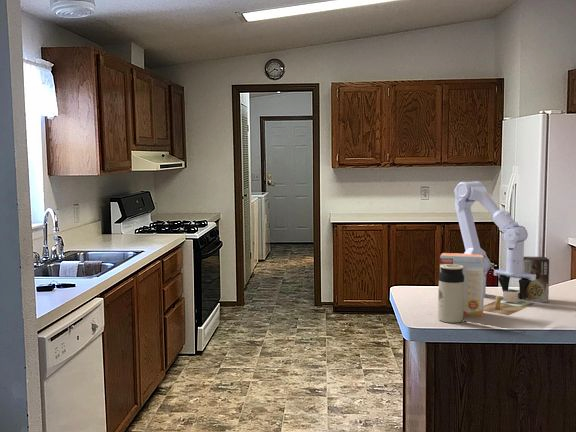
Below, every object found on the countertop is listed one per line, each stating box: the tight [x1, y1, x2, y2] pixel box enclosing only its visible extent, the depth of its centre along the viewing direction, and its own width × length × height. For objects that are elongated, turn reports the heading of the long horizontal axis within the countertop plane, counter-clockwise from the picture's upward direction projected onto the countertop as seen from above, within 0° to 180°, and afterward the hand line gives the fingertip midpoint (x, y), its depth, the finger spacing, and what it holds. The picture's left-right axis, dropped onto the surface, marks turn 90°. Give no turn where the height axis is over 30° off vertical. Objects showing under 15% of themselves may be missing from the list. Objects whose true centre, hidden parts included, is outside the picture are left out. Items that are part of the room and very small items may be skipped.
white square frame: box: [502, 288, 524, 303], centre depth 221 cm, size 5×5×4 cm
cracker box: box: [439, 252, 485, 318], centre depth 207 cm, size 14×6×21 cm, turn 69°
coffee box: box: [518, 256, 550, 303], centre depth 229 cm, size 9×6×16 cm
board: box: [483, 295, 535, 316], centre depth 217 cm, size 12×22×6 cm, turn 137°
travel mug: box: [437, 264, 464, 324], centre depth 201 cm, size 8×8×18 cm
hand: (513, 297), depth 221 cm, fingers closed on white square frame, 5 cm apart
